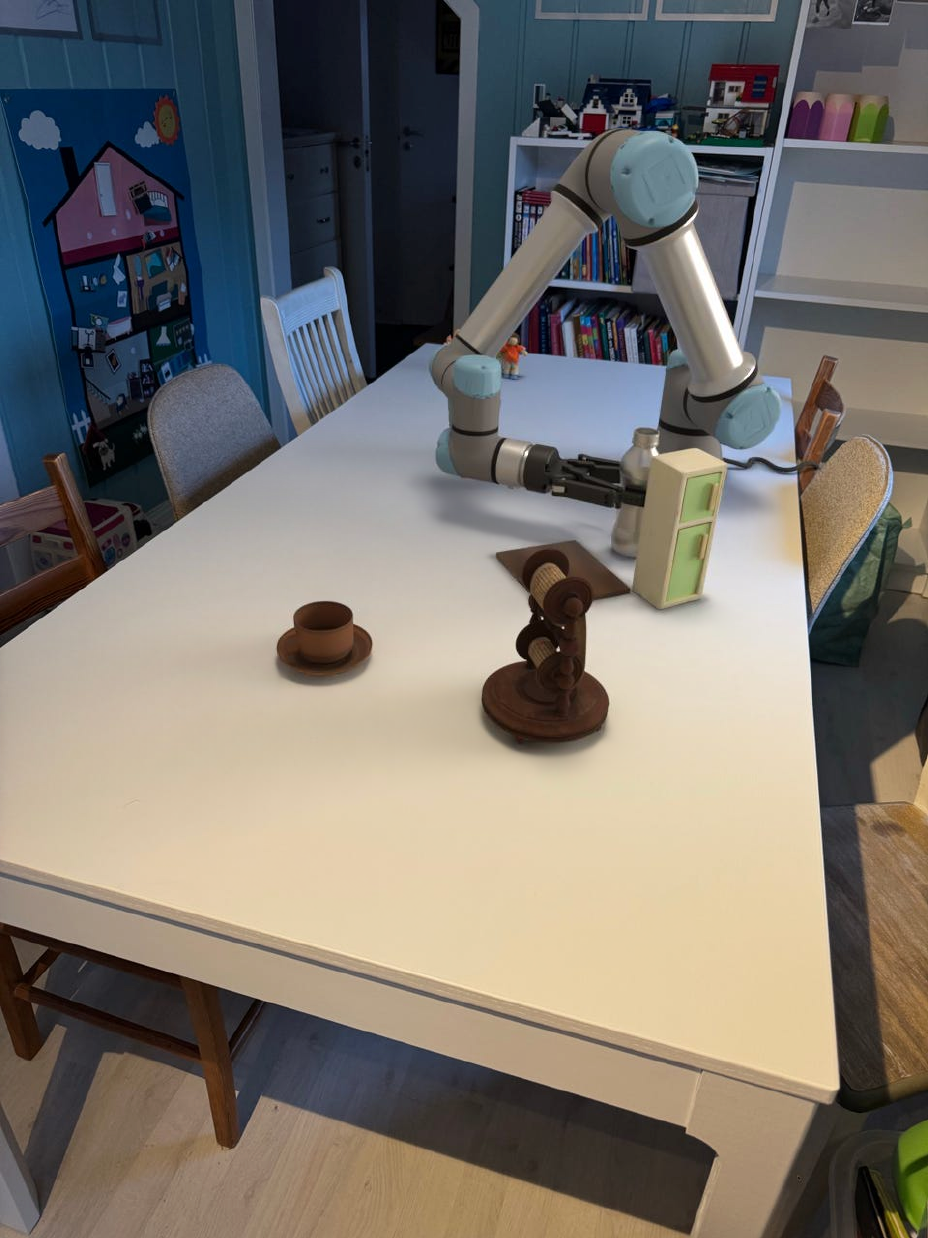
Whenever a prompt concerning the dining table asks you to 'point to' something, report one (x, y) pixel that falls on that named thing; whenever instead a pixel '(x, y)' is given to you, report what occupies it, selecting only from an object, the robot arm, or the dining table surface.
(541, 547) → the walnut board
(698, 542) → the toy refrigerator
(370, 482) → the dining table surface
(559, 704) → the wooden spool stand
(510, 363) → the doll family
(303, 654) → the cup and saucer
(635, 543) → the silver metal bottle
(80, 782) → the dining table surface
